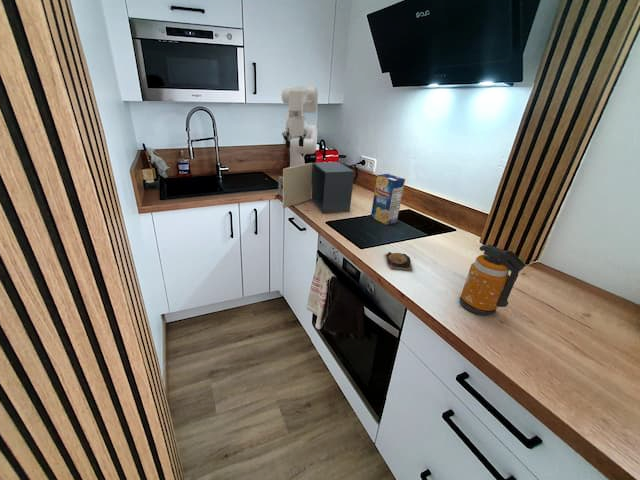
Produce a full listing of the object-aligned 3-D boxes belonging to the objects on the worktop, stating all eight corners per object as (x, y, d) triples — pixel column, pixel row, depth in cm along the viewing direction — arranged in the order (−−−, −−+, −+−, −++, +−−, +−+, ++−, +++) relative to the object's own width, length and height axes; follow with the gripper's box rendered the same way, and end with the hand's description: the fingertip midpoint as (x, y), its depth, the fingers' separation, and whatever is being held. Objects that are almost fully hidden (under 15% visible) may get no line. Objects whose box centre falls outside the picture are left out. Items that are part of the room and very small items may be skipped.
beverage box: (386, 225, 137) (394, 180, 128) (370, 216, 146) (377, 175, 137) (396, 222, 140) (405, 179, 131) (380, 214, 149) (387, 173, 140)
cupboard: (323, 213, 150) (326, 172, 141) (311, 199, 170) (313, 162, 161) (349, 211, 152) (354, 171, 143) (335, 198, 172) (338, 161, 163)
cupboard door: (274, 204, 160) (275, 166, 151) (301, 196, 174) (303, 160, 165) (283, 208, 155) (284, 169, 147) (310, 199, 169) (312, 163, 160)
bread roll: (413, 272, 101) (415, 263, 99) (388, 269, 102) (390, 260, 101) (407, 256, 110) (409, 248, 109) (384, 254, 112) (386, 246, 110)
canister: (466, 293, 90) (486, 237, 82) (507, 312, 82) (533, 253, 74) (453, 304, 85) (472, 245, 77) (495, 326, 77) (522, 264, 69)
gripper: (302, 113, 159) (301, 144, 166) (278, 114, 149) (278, 147, 156) (312, 114, 153) (310, 146, 160) (287, 115, 143) (286, 149, 150)
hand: (294, 147), depth 158 cm, fingers open, 9 cm apart
